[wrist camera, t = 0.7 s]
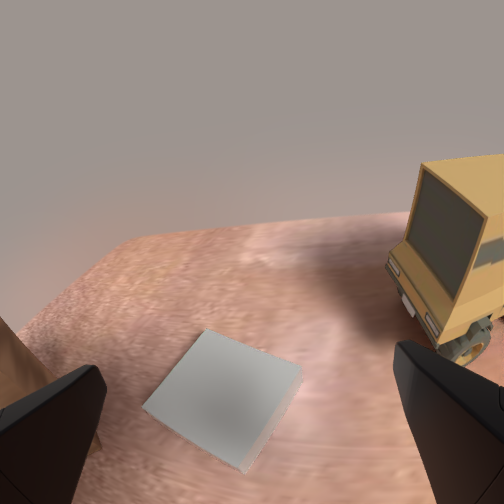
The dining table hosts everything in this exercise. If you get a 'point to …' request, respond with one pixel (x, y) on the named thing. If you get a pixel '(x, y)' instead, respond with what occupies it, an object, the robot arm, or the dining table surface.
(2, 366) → the walnut block
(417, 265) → the toy car
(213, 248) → the dining table surface
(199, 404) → the grey block
